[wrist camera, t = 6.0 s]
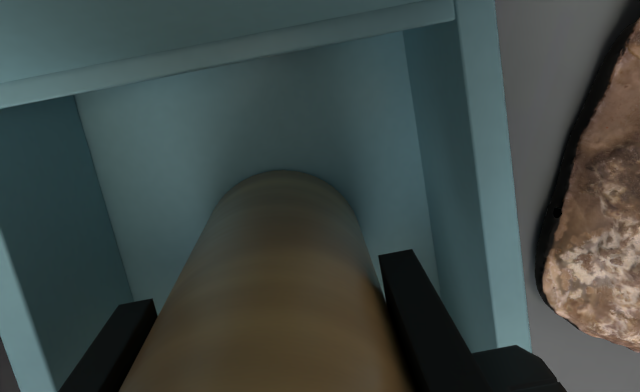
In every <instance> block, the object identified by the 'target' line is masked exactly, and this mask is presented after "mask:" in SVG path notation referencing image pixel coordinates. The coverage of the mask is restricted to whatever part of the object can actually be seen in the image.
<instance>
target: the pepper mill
mask: <svg viewBox="0 0 640 392" xmlns="http://www.w3.org/2000/svg"><path fill="white" fill-rule="evenodd" d="M119 392H417V390H416V387H415V384H414V381H413V378H412V375H411V373H410V370H409V367H408V364H407V361H406V358H405V355H404V352H403V350H402V347H401V344H400V341H399V338H398V335H397V332H396V329H395V326H394V324H393V321H392V318H391V315H390V312H389V309H388V306H387V303H386V301H385V298H384V295H383V292H382V289H381V286H380V283H379V280H378V277H377V275H376V272H375V269H374V266H373V263H372V260H371V257H370V254H369V252H368V249H367V246H366V243H365V240H364V237H363V234H362V231H361V228H360V226H359V223H358V220H357V217H356V215H355V213H354V211H353V209H352V208H351V206H350V205H349V203H348V202H347V200H346V199H345V198H344V197H343V196H342V195H341V194H340V193H339V192H338V191H337V190H336V189H335V188H334V187H332V186H331V185H329V184H328V183H326V182H325V181H323V180H321V179H319V178H317V177H315V176H312V175H309V174H306V173H302V172H298V171H290V170H276V171H269V172H263V173H260V174H257V175H254V176H251V177H249V178H247V179H245V180H243V181H241V182H240V183H238V184H237V185H235V186H234V187H233V188H232V189H230V190H229V191H228V192H227V193H226V194H225V195H224V196H223V197H222V198H221V200H220V201H219V202H218V204H217V205H216V207H215V208H214V210H213V212H212V214H211V216H210V218H209V220H208V221H207V223H206V225H205V227H204V229H203V231H202V233H201V235H200V237H199V239H198V241H197V243H196V244H195V246H194V248H193V250H192V252H191V254H190V256H189V258H188V260H187V262H186V264H185V265H184V267H183V269H182V271H181V273H180V275H179V277H178V279H177V281H176V283H175V285H174V287H173V288H172V290H171V292H170V294H169V296H168V298H167V300H166V302H165V304H164V306H163V308H162V310H161V311H160V313H159V315H158V317H157V319H156V321H155V323H154V325H153V327H152V329H151V331H150V332H149V334H148V336H147V338H146V340H145V342H144V344H143V346H142V348H141V350H140V352H139V354H138V355H137V357H136V359H135V361H134V363H133V365H132V367H131V369H130V371H129V373H128V375H127V376H126V378H125V380H124V382H123V384H122V386H121V388H120V390H119Z"/></svg>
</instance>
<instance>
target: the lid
mask: <svg viewBox="0 0 640 392" xmlns="http://www.w3.org/2000/svg"><path fill="white" fill-rule="evenodd" d="M419 1H424V0H0V83H4V82H9V81H14V80H19V79H24V78H29V77H34V76H39V75H45V74H50V73H55V72H60V71H65V70H70V69H75V68H80V67H86V66H91V65H96V64H101V63H106V62H111V61H116V60H121V59H127V58H132V57H137V56H142V55H147V54H152V53H157V52H162V51H168V50H173V49H178V48H183V47H188V46H193V45H198V44H203V43H209V42H214V41H219V40H224V39H229V38H234V37H239V36H244V35H250V34H255V33H260V32H265V31H270V30H275V29H280V28H285V27H291V26H296V25H301V24H306V23H311V22H316V21H321V20H326V19H332V18H337V17H342V16H347V15H352V14H357V13H362V12H367V11H373V10H378V9H383V8H388V7H393V6H398V5H403V4H408V3H414V2H419Z"/></svg>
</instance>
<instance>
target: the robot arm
mask: <svg viewBox="0 0 640 392" xmlns="http://www.w3.org/2000/svg"><path fill="white" fill-rule="evenodd" d="M378 258H379V263H380V269H381V275H382V281H383V287H384V292H385V298H386V303H387V306H388V309H389V312H390V315H391V318H392V321H393V324H394V326H395V329H396V332H397V335H398V338H399V341H400V344H401V347H402V350H403V352H404V355H405V358H406V361H407V364H408V367H409V370H410V373H411V375H412V378H413V381H414V384H415V387H416V390H417V392H567V391H566V390H565V388H564V387H563V386H562V385H561V383H560V382H557V379H556V377H555V376H554V374H553V373H552V372H551V371H550V369H549V368H548V367H547V365H546V364H545V363H544V362H543V360H542V359H541V358H539V357H537V356H536V355H534V354H532V353H530V352H528V351H527V350H525V349H523V348H521V347H519V346H518V345H512V346H507V347H502V348H496V349H491V350H486V351H480V352H475V353H471V352H470V350H469V348H468V346H467V345H466V343H465V341H464V339H463V338H462V336H461V334H460V332H459V330H458V329H457V327H456V325H455V323H454V322H453V320H452V318H451V316H450V315H449V313H448V311H447V309H446V308H445V306H444V304H443V302H442V300H441V299H440V297H439V295H438V293H437V292H436V290H435V288H434V286H433V285H432V283H431V281H430V279H429V278H428V276H427V274H426V272H425V270H424V269H423V267H422V265H421V263H420V262H419V260H418V258H417V256H416V255H415V253H414V251H413V249H409V250H404V251H398V252H393V253H388V254H383V255H378ZM157 317H158V315H157V312H156V308H155V305H154V301H153V298H152V299H146V300H141V301H136V302H131V303H125V304H120V305H118V307H117V308H116V309H115V311H114V312H113V314H112V315H111V317H110V318H109V320H108V321H107V322H106V324H105V325H104V327H103V328H102V330H101V331H100V332H99V334H98V335H97V337H96V338H95V340H94V341H93V342H92V344H91V345H90V347H89V348H88V350H87V351H86V352H85V354H84V355H83V357H82V358H81V360H80V361H79V362H78V364H77V365H76V367H75V368H74V370H73V371H72V372H71V374H70V375H69V377H68V378H67V380H66V381H65V382H64V384H63V385H62V387H61V388H60V390H59V391H58V392H119V390H120V388H121V386H122V384H123V382H124V380H125V378H126V376H127V375H128V373H129V371H130V369H131V367H132V365H133V363H134V361H135V359H136V357H137V355H138V354H139V352H140V350H141V348H142V346H143V344H144V342H145V340H146V338H147V336H148V334H149V332H150V331H151V329H152V327H153V325H154V323H155V321H156V319H157Z"/></svg>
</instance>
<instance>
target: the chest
mask: <svg viewBox="0 0 640 392" xmlns="http://www.w3.org/2000/svg"><path fill="white" fill-rule="evenodd" d="M276 170H290V171H298V172H302V173H306V174H309V175H312V176H315V177H317V178H319V179H321V180H323V181H325V182H326V183H328V184H329V185H331V186H332V187H334V188H335V189H336V190H337V191H338V192H339V193H340V194H341V195H342V196H343V197H344V198H345V199H346V200H347V202H348V203H349V205H350V206H351V208H352V209H353V211H354V213H355V215H356V217H357V220H358V223H359V226H360V228H361V231H362V234H363V237H364V240H365V243H366V246H367V249H368V252H369V254H370V257H371V260H372V263H373V266H374V269H375V272H376V275H377V277H378V280H379V283H380V286H381V289H382V292H383V295H384V298H385V292H384V287H383V281H382V275H381V269H380V263H379V258H378V255H383V254H388V253H393V252H398V251H404V250H409V249H413V251H414V253H415V255H416V256H417V258H418V260H419V262H420V263H421V265H422V267H423V269H424V270H425V272H426V274H427V276H428V278H429V279H430V281H431V283H432V285H433V286H434V288H435V290H436V292H437V293H438V295H439V297H440V299H441V300H442V302H443V304H444V306H445V308H446V309H447V311H448V313H449V315H450V316H451V318H452V320H453V322H454V323H455V325H456V327H457V329H458V330H459V332H460V334H461V336H462V338H463V339H464V341H465V343H466V345H467V346H468V348H469V350H470V352H471V353H475V352H480V351H486V350H491V349H496V348H502V347H507V346H512V345H518V346H519V347H521V348H523V349H525V350H527V351H528V352H530V353H532V349H531V339H530V330H529V320H528V311H527V301H526V292H525V283H524V273H523V264H522V254H521V245H520V235H519V226H518V216H517V207H516V198H515V188H514V179H513V169H512V160H511V150H510V141H509V132H508V122H507V113H506V103H505V94H504V84H503V75H502V66H501V56H500V47H499V37H498V28H497V18H496V9H495V0H424V1H419V2H414V3H408V4H403V5H398V6H393V7H388V8H383V9H378V10H373V11H367V12H362V13H357V14H352V15H347V16H342V17H337V18H332V19H326V20H321V21H316V22H311V23H306V24H301V25H296V26H291V27H285V28H280V29H275V30H270V31H265V32H260V33H255V34H250V35H244V36H239V37H234V38H229V39H224V40H219V41H214V42H209V43H203V44H198V45H193V46H188V47H183V48H178V49H173V50H168V51H162V52H157V53H152V54H147V55H142V56H137V57H132V58H127V59H121V60H116V61H111V62H106V63H101V64H96V65H91V66H86V67H80V68H75V69H70V70H65V71H60V72H55V73H50V74H45V75H39V76H34V77H29V78H24V79H19V80H14V81H9V82H4V83H0V336H1V339H2V342H3V344H4V347H5V350H6V353H7V355H8V358H9V361H10V364H11V366H12V369H13V372H14V375H15V377H16V380H17V383H18V386H19V388H20V391H21V392H58V391H59V390H60V388H61V387H62V385H63V384H64V382H65V381H66V380H67V378H68V377H69V375H70V374H71V372H72V371H73V370H74V368H75V367H76V365H77V364H78V362H79V361H80V360H81V358H82V357H83V355H84V354H85V352H86V351H87V350H88V348H89V347H90V345H91V344H92V342H93V341H94V340H95V338H96V337H97V335H98V334H99V332H100V331H101V330H102V328H103V327H104V325H105V324H106V322H107V321H108V320H109V318H110V317H111V315H112V314H113V312H114V311H115V309H116V308H117V307H118V305H120V304H125V303H131V302H136V301H141V300H146V299H152V298H153V301H154V305H155V308H156V312H157V315H159V313H160V311H161V310H162V308H163V306H164V304H165V302H166V300H167V298H168V296H169V294H170V292H171V290H172V288H173V287H174V285H175V283H176V281H177V279H178V277H179V275H180V273H181V271H182V269H183V267H184V265H185V264H186V262H187V260H188V258H189V256H190V254H191V252H192V250H193V248H194V246H195V244H196V243H197V241H198V239H199V237H200V235H201V233H202V231H203V229H204V227H205V225H206V223H207V221H208V220H209V218H210V216H211V214H212V212H213V210H214V208H215V207H216V205H217V204H218V202H219V201H220V200H221V198H222V197H223V196H224V195H225V194H226V193H227V192H228V191H229V190H230V189H232V188H233V187H234V186H235V185H237V184H238V183H240V182H241V181H243V180H245V179H247V178H249V177H251V176H254V175H257V174H260V173H263V172H269V171H276ZM385 301H386V298H385Z"/></svg>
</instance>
